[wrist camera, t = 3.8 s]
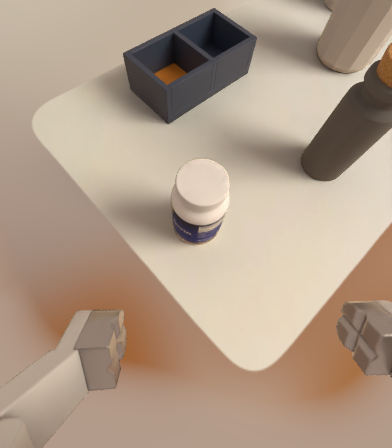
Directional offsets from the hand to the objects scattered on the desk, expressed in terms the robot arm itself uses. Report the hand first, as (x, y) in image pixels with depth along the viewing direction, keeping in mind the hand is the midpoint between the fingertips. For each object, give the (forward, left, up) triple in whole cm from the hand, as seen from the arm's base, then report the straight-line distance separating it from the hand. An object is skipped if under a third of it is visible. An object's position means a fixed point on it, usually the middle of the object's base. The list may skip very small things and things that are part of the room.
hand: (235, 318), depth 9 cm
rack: (0, +36, -18) cm, 40 cm away
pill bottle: (0, +11, -18) cm, 21 cm away
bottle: (+18, +20, -18) cm, 33 cm away
